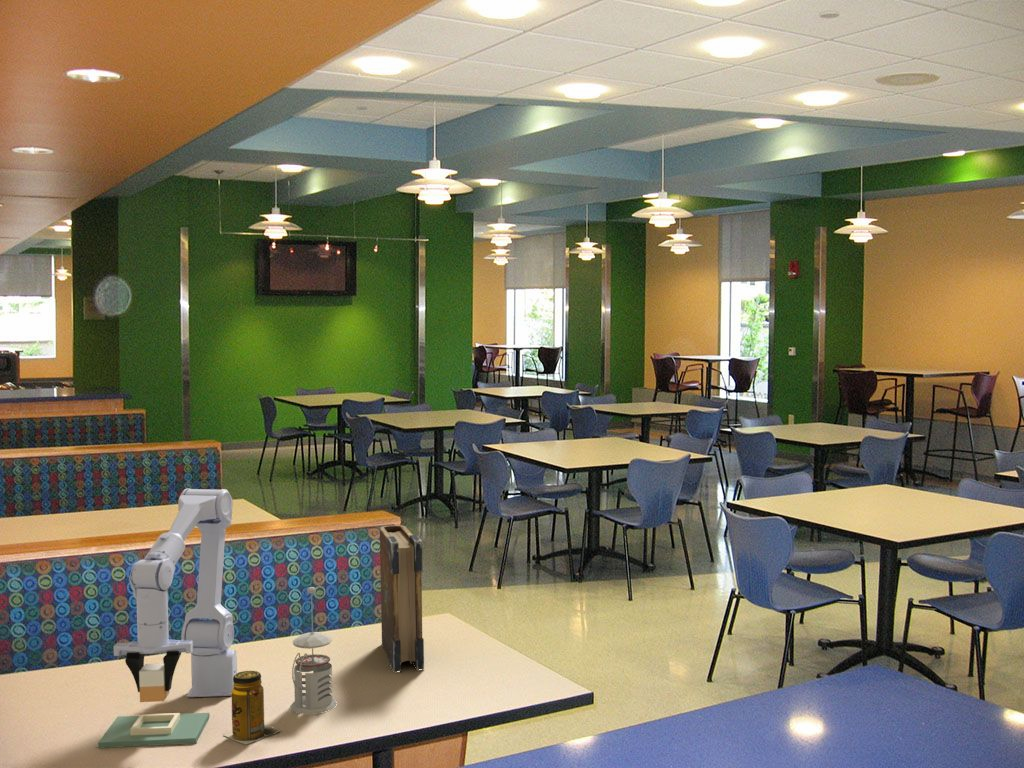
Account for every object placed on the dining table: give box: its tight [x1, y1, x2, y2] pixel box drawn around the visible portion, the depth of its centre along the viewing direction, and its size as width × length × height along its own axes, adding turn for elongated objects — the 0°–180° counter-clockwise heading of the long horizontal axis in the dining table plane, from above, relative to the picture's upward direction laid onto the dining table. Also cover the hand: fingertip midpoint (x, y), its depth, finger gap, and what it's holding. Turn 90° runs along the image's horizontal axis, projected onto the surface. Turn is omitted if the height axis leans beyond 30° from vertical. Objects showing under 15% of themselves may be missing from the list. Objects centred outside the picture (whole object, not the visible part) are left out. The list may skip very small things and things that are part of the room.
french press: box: [289, 586, 338, 715], centre depth 213 cm, size 10×12×25 cm
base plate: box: [97, 712, 211, 749], centre depth 201 cm, size 18×13×2 cm
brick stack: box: [139, 662, 170, 703], centre depth 200 cm, size 4×4×6 cm
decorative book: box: [379, 524, 425, 672], centre depth 245 cm, size 23×7×30 cm, turn 15°
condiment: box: [223, 670, 283, 745], centre depth 199 cm, size 7×8×12 cm
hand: (154, 690), depth 200 cm, fingers closed on brick stack, 4 cm apart
